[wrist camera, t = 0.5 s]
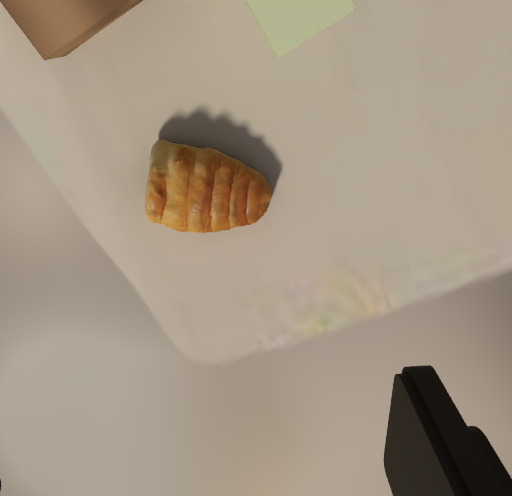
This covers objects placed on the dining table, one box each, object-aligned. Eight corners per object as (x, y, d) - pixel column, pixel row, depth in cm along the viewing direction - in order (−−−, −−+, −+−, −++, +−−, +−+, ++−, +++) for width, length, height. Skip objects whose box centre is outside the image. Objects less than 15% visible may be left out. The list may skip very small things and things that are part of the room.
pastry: (277, 152, 34) (281, 167, 31) (262, 233, 37) (265, 255, 34) (150, 133, 33) (141, 147, 30) (146, 218, 36) (136, 239, 33)
